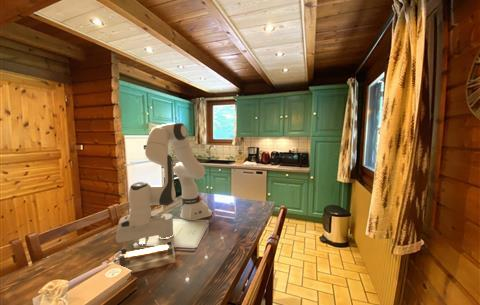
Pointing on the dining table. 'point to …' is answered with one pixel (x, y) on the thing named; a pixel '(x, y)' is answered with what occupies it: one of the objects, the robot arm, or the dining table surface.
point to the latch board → (148, 259)
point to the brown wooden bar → (146, 251)
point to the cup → (167, 226)
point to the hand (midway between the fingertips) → (142, 246)
